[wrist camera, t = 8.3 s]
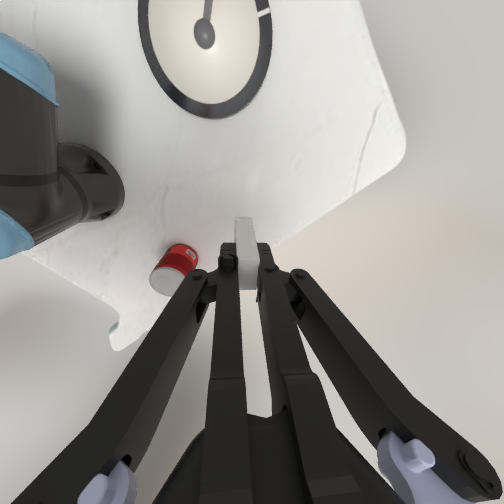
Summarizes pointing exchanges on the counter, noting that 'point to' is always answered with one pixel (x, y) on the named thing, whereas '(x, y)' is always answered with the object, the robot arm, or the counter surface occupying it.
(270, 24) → the dial base
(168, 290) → the canned food
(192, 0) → the dial
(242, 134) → the counter surface
